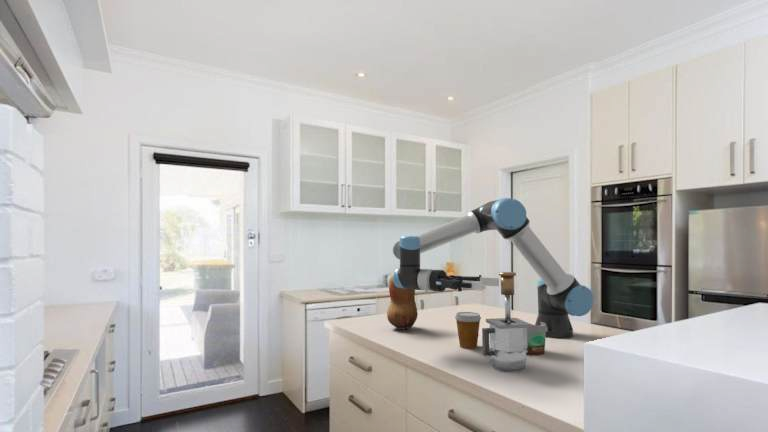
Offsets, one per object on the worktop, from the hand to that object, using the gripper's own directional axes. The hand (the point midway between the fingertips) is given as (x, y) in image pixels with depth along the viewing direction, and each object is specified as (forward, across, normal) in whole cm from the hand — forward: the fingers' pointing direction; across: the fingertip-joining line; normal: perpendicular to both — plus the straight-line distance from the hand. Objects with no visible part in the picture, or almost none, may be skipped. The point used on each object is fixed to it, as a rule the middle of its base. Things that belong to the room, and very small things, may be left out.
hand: (490, 284), depth 135 cm
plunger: (+5, -1, -14) cm, 15 cm away
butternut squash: (-52, -26, -26) cm, 63 cm away
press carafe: (+4, +1, -25) cm, 26 cm away
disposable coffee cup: (-15, -15, -26) cm, 34 cm away
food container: (+8, -20, -26) cm, 34 cm away
